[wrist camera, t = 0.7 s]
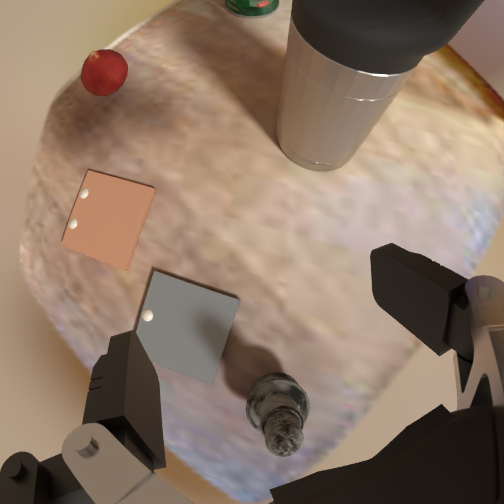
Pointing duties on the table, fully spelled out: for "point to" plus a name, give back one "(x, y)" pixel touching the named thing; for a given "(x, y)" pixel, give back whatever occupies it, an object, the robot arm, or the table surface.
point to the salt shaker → (278, 412)
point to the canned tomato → (252, 7)
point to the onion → (104, 72)
